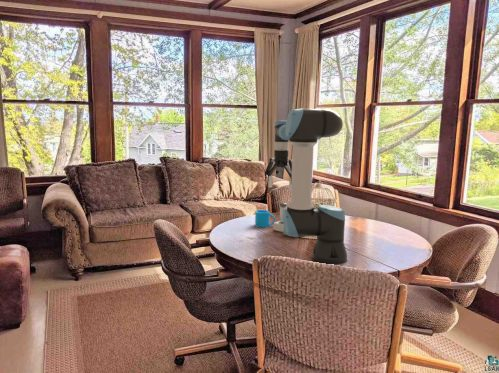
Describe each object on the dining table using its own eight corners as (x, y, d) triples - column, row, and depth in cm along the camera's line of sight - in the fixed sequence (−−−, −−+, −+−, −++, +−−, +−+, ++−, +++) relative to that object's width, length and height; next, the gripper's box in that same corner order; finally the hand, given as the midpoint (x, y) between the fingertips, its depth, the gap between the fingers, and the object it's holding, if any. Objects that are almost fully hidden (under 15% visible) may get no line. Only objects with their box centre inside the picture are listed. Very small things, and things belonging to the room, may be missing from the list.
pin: (288, 229, 228) (288, 203, 225) (283, 231, 225) (284, 204, 222) (282, 228, 230) (282, 202, 228) (277, 229, 227) (277, 203, 225)
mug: (253, 226, 235) (253, 212, 233) (258, 223, 242) (258, 209, 241) (273, 228, 230) (273, 214, 229) (277, 225, 238) (277, 211, 237)
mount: (291, 229, 228) (291, 222, 227) (283, 232, 223) (284, 225, 222) (281, 227, 232) (281, 220, 232) (273, 229, 227) (273, 222, 227)
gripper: (305, 150, 214) (303, 190, 218) (266, 148, 230) (266, 185, 233) (297, 151, 208) (296, 192, 212) (258, 148, 224) (258, 187, 227)
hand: (280, 189), depth 223 cm, fingers open, 13 cm apart
